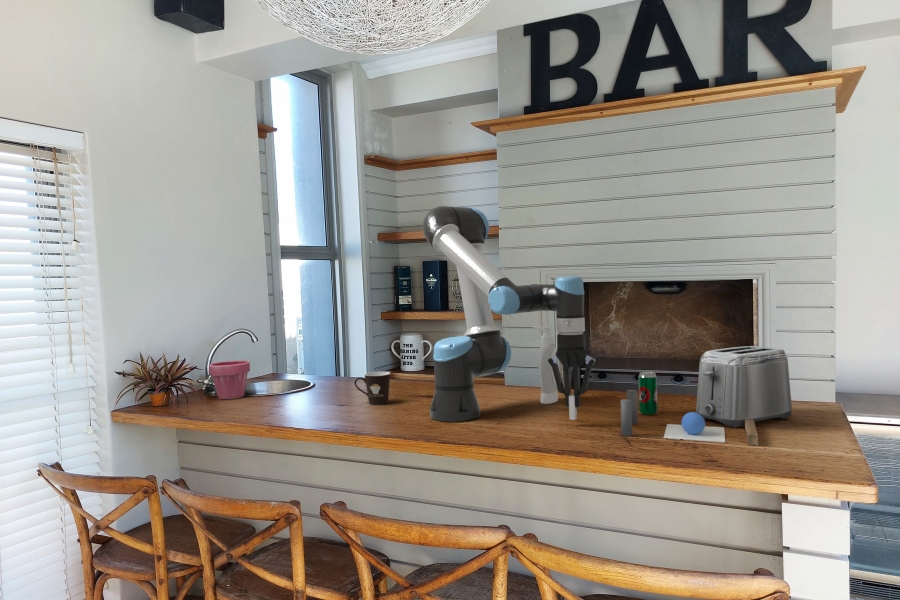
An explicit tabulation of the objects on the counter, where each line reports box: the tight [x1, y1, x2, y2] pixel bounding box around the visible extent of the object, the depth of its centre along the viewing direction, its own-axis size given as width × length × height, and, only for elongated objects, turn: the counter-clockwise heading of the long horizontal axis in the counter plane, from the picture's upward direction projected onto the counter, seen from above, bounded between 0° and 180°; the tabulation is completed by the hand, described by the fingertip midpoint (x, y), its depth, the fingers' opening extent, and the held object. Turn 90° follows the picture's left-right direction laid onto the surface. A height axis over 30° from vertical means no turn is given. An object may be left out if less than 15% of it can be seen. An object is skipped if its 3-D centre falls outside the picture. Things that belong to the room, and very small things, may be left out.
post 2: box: [626, 389, 639, 425], centre depth 169 cm, size 3×3×9 cm
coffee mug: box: [354, 371, 391, 406], centre depth 208 cm, size 12×9×10 cm
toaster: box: [695, 345, 793, 429], centre depth 170 cm, size 17×30×19 cm, turn 113°
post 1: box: [620, 398, 633, 437], centre depth 157 cm, size 3×3×9 cm
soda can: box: [637, 371, 658, 416], centre depth 179 cm, size 5×5×12 cm
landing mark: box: [663, 423, 726, 444], centre depth 157 cm, size 14×14×1 cm
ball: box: [681, 411, 706, 435], centre depth 156 cm, size 6×6×6 cm
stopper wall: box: [744, 419, 759, 447], centre depth 152 cm, size 2×16×2 cm, turn 157°
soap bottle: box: [531, 326, 559, 405], centre depth 201 cm, size 13×8×24 cm, turn 151°
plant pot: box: [208, 360, 251, 400], centre depth 228 cm, size 14×14×13 cm
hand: (573, 418), depth 169 cm, fingers closed
